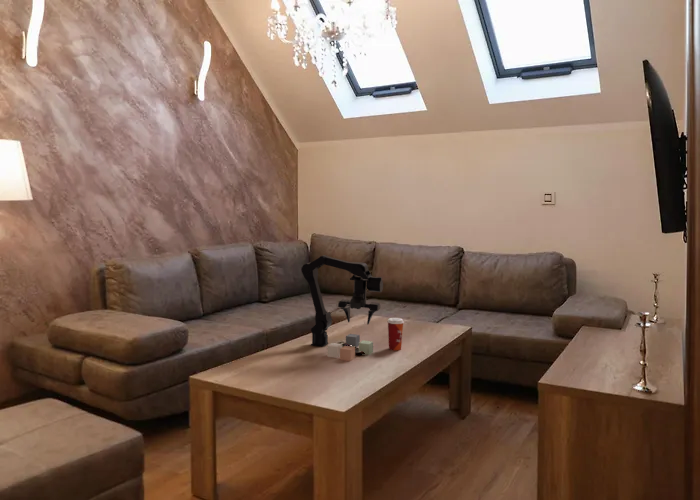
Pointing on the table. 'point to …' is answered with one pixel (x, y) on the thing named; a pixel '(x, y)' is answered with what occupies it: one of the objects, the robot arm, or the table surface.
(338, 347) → the cream cube
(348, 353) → the terracotta cube
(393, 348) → the paper cup
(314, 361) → the table surface
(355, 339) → the charcoal cube
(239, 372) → the table surface
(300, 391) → the table surface
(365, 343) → the sage cube
